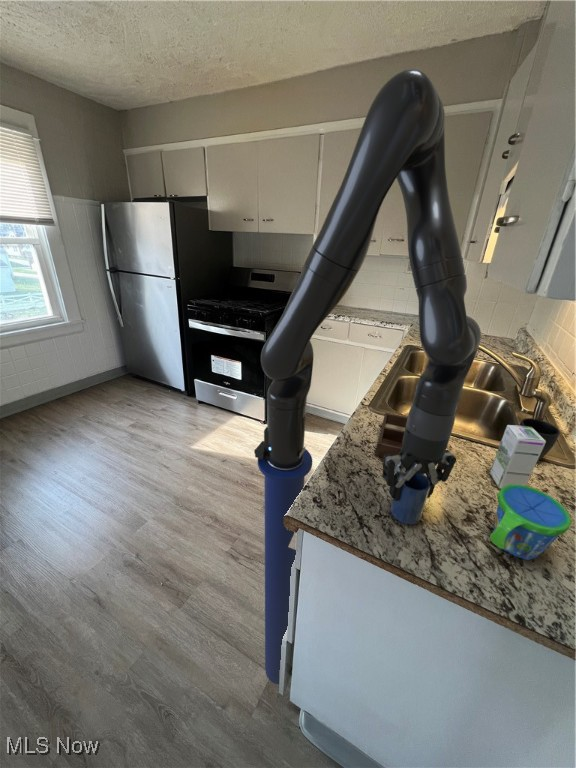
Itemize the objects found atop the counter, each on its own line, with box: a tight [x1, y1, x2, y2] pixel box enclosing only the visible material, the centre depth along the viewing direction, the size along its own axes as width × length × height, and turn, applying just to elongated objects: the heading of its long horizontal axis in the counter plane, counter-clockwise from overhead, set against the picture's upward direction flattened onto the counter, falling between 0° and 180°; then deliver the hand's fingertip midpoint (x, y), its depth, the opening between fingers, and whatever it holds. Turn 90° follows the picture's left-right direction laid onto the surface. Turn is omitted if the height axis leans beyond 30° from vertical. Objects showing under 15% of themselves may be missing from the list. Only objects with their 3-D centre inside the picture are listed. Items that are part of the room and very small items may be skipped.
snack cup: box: [489, 484, 572, 561], centre depth 58 cm, size 16×10×10 cm
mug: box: [503, 417, 561, 463], centre depth 84 cm, size 8×12×10 cm
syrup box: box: [489, 424, 546, 490], centre depth 73 cm, size 6×6×14 cm
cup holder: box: [375, 412, 408, 459], centre depth 88 cm, size 9×17×4 cm, turn 158°
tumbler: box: [390, 469, 430, 525], centre depth 64 cm, size 6×6×9 cm
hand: (409, 496), depth 64 cm, fingers closed on tumbler, 6 cm apart
